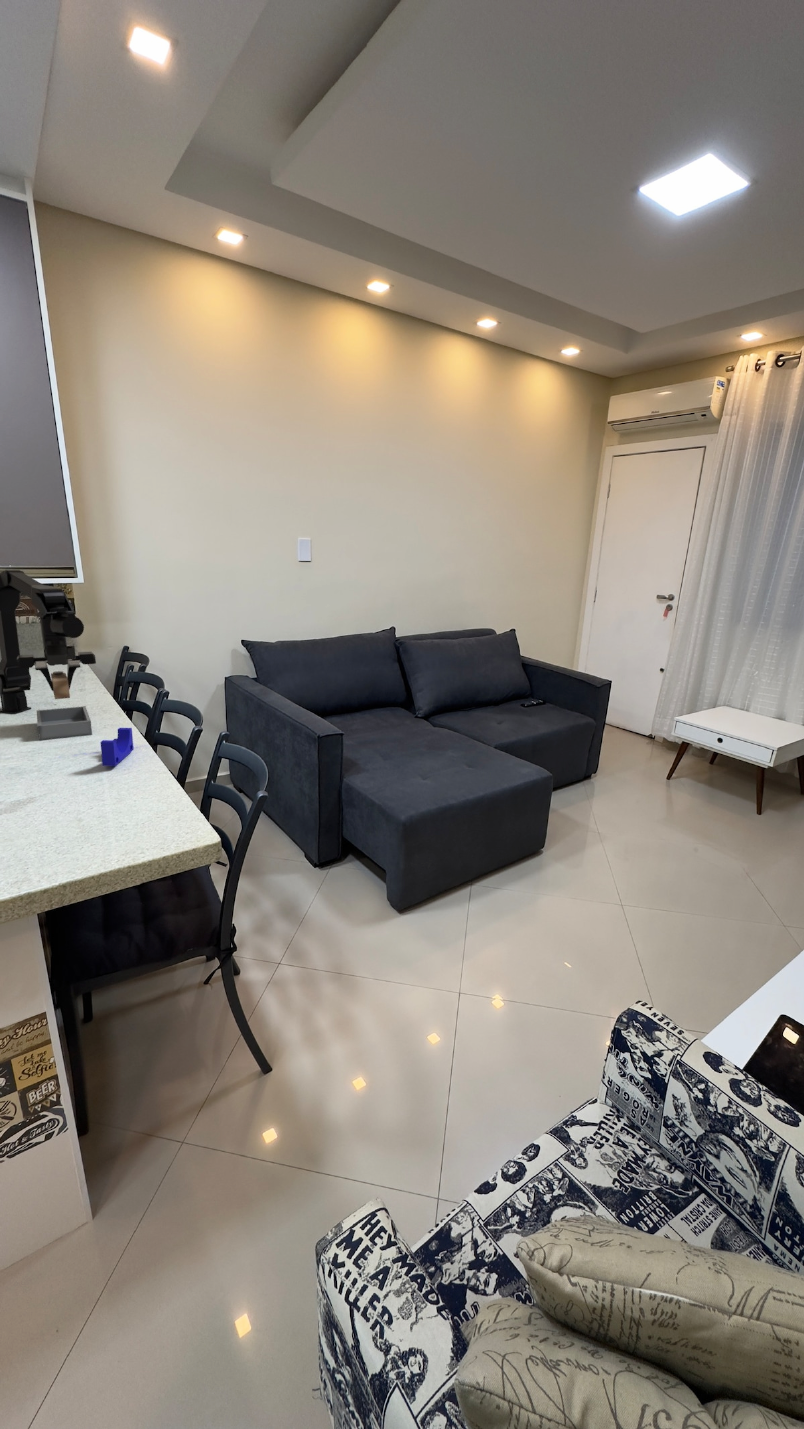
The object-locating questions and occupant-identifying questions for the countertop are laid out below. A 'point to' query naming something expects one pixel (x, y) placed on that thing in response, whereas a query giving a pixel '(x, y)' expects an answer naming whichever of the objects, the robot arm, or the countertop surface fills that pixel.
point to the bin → (63, 723)
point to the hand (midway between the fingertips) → (60, 689)
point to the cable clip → (117, 747)
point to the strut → (60, 685)
